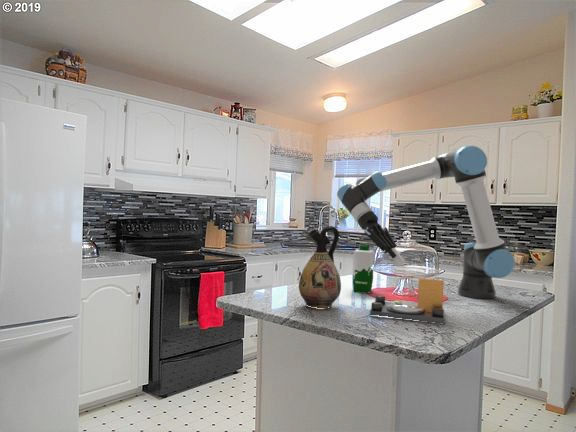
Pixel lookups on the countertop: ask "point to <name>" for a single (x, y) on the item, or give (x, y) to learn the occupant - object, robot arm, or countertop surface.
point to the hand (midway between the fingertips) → (401, 263)
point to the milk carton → (363, 269)
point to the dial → (421, 298)
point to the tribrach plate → (381, 309)
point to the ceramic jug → (321, 272)
